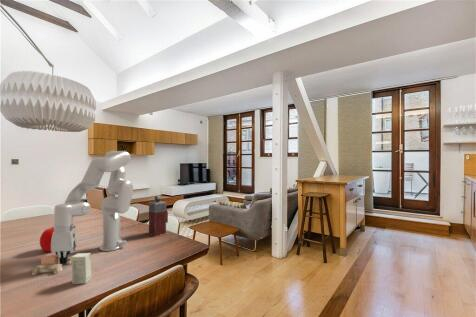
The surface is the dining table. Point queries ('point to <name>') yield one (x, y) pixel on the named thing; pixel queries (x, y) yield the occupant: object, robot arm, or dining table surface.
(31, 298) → the dining table surface
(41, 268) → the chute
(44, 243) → the tomato
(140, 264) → the dining table surface
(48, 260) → the block
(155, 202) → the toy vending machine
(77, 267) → the skincare box
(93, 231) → the dining table surface
